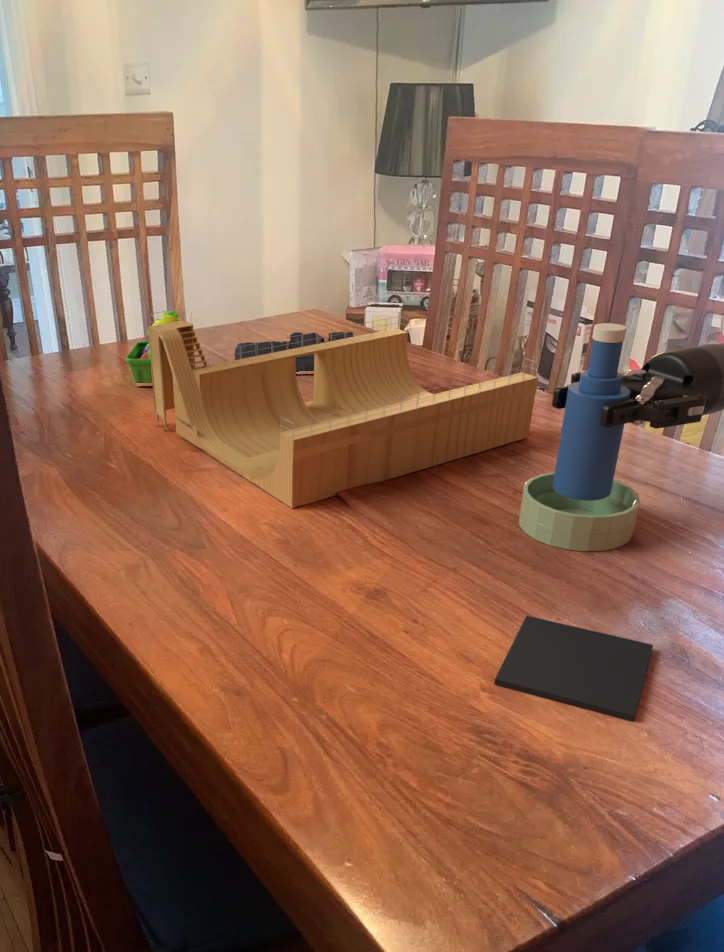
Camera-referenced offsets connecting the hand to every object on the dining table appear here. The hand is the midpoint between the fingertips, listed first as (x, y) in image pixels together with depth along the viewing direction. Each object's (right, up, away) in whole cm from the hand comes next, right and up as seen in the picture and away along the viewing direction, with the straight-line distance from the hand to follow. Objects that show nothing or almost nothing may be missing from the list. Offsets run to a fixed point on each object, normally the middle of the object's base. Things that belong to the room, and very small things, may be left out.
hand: (579, 407), depth 87 cm
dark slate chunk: (-27, +23, +67) cm, 76 cm away
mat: (-5, -25, -14) cm, 29 cm away
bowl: (+2, -12, +8) cm, 15 cm away
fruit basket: (-50, +18, +60) cm, 80 cm away
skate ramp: (-22, +4, +36) cm, 43 cm away
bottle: (+2, -8, +6) cm, 10 cm away
